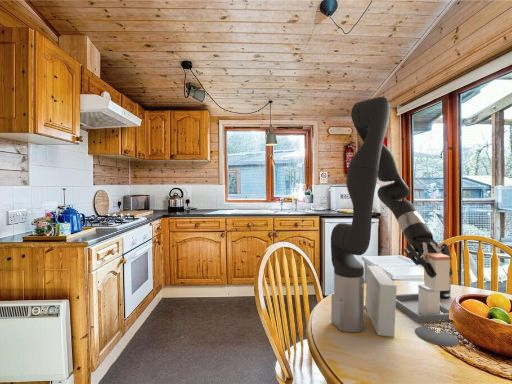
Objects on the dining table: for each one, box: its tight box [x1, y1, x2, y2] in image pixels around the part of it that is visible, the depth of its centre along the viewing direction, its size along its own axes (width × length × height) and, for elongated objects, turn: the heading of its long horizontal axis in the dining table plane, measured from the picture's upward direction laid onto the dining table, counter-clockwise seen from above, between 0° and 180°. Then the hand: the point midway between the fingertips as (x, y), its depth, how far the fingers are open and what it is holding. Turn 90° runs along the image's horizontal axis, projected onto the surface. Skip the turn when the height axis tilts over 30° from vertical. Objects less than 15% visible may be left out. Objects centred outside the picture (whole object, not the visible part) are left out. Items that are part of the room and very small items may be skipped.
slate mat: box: [414, 325, 459, 348], centre depth 84 cm, size 11×11×1 cm
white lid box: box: [417, 283, 441, 315], centre depth 97 cm, size 5×5×10 cm
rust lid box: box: [423, 253, 451, 291], centre depth 84 cm, size 5×5×10 cm
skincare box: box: [364, 265, 398, 338], centre depth 95 cm, size 21×6×16 cm, turn 168°
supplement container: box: [440, 275, 452, 300], centre depth 114 cm, size 7×7×10 cm
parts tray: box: [396, 293, 451, 324], centre depth 102 cm, size 18×14×2 cm
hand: (441, 275), depth 82 cm, fingers closed on rust lid box, 4 cm apart
